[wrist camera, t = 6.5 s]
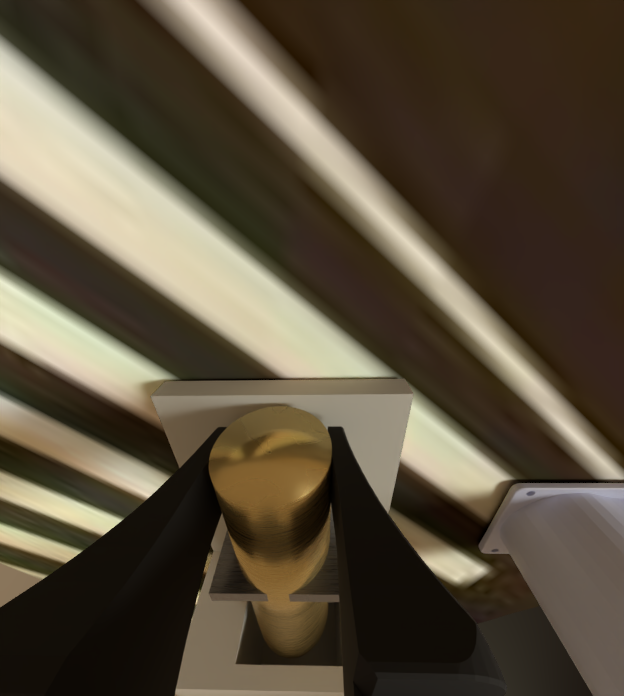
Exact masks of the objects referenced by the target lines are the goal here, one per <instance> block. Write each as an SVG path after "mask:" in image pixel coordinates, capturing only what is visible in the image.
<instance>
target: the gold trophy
mask: <svg viewBox="0 0 624 696" xmlns="http://www.w3.org/2000/svg"><path fill="white" fill-rule="evenodd" d="M331 467H332V444H331V438H330V435H329V433H328V431H327V429H326V427H325V426H324V425H323V423H322V422H321V421H320V420H319V419H317V418H316V417H315V416H313V415H312V414H310V413H308V412H306V411H304V410H301V409H298V408H293V407H286V406H276V407H267V408H263V409H259V410H256V411H253V412H251V413H248V414H246V415H244V416H242V417H240V418H239V419H237V420H236V421H234V422H233V423H232V424H230V425H229V426H228V427H227V428H226V429H225V430H224V431H223V432H222V433H221V435H220V436H219V437H218V439H217V440H216V442H215V444H214V446H213V448H212V451H211V454H210V458H209V474H210V478H211V481H212V484H213V487H214V490H215V493H216V496H217V499H218V502H219V505H220V508H221V511H222V514H223V517H224V520H225V524H226V527H227V532H226V535H225V539H224V542H223V546H222V549H221V553H220V556H219V559H218V563H217V566H216V570H215V573H214V576H213V580H212V583H211V587H210V590H209V595H210V597H211V599H212V601H251V603H252V606H253V609H254V612H255V615H256V618H257V621H258V624H259V627H260V630H261V633H262V636H263V638H264V640H265V642H266V643H267V645H268V646H269V648H270V649H271V650H272V651H273V652H274V653H276V654H277V655H279V656H281V657H284V658H290V659H291V658H298V657H301V656H303V655H305V654H306V653H308V652H309V651H310V650H311V649H312V648H313V647H314V646H315V645H316V644H317V642H318V641H319V639H320V638H321V636H322V634H323V631H324V629H325V626H326V622H327V617H328V607H329V602H339V582H338V564H337V548H336V538H335V530H334V522H333V514H332V507H331Z"/></svg>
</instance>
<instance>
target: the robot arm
mask: <svg viewBox="0 0 624 696" xmlns="http://www.w3.org/2000/svg"><path fill="white" fill-rule="evenodd" d="M226 428H227V427H218V428H217V429H216V430H215V431H214V432H213V433H212V434H211V435H210V436H209V437H208V438H207V439H206V441H205V442H204V443H203V444H202V445H201V446H200V447H199V448H198V449H197V450H196V451H195V453H194V454H193V455H192V456H191V457H190V458H189V459H188V460H187V461H186V462H185V463H184V464H183V465H182V466H181V467H180V468H179V469H178V470H177V471H176V472H175V473H174V474H173V475H172V476H171V477H170V478H169V479H168V480H167V481H166V482H165V483H164V484H163V485H162V486H161V487H160V488H159V489H158V490H157V491H156V492H155V493H154V494H152V495H151V496H150V497H149V498H148V499H147V500H146V501H145V502H144V503H142V504H141V505H140V506H139V507H138V508H137V509H136V510H134V511H133V512H132V513H131V514H130V515H129V516H127V517H126V518H125V519H124V520H122V521H121V522H120V523H119V524H117V525H116V526H115V527H114V528H112V529H111V530H110V531H109V532H107V533H106V534H105V535H103V536H102V537H101V538H100V539H98V540H97V541H96V542H95V543H93V544H92V545H91V546H89V547H88V548H86V549H85V550H84V551H82V552H81V553H80V554H78V555H77V556H76V557H74V558H73V559H71V560H70V561H69V562H67V563H66V564H64V565H63V566H61V567H60V568H59V569H57V570H56V571H54V572H53V573H52V574H50V575H49V576H47V577H46V578H44V579H43V580H41V581H40V582H39V583H37V584H35V585H34V586H32V587H31V588H29V589H28V590H26V591H25V592H23V593H22V594H20V595H19V596H17V597H15V598H14V599H12V600H11V601H9V602H8V603H6V604H5V605H4V606H2V607H0V696H175V691H176V686H177V681H178V677H179V672H180V667H181V663H182V658H183V653H184V649H185V645H186V640H187V636H188V632H189V627H190V623H191V619H192V615H193V610H194V606H195V603H196V599H197V595H198V591H199V587H200V583H201V579H202V575H203V571H204V568H205V564H206V560H207V556H208V553H209V549H210V546H211V543H212V540H213V537H214V534H215V531H216V528H217V526H218V523H219V520H220V517H221V514H222V511H221V508H220V505H219V502H218V499H217V496H216V493H215V490H214V487H213V484H212V481H211V478H210V474H209V458H210V454H211V451H212V448H213V446H214V444H215V442H216V440H217V439H218V437H219V436H220V435H221V433H222V432H223V431H224V430H225V429H226ZM328 433H329V435H330V438H331V444H332V467H331V507H332V514H333V522H334V530H335V538H336V548H337V564H338V582H339V602H340V621H341V642H342V663H343V684H344V696H504V695H505V694H506V690H507V686H506V683H505V680H504V678H503V675H502V673H501V670H500V668H499V666H498V663H497V661H496V659H495V657H494V655H493V653H492V651H491V650H490V647H489V645H488V643H487V641H486V640H485V637H484V636H483V634H482V632H481V630H480V628H479V627H478V625H477V623H476V621H475V620H474V619H473V618H472V617H471V616H470V615H469V613H468V612H467V611H466V610H465V609H464V608H463V607H462V606H461V605H460V603H459V602H458V601H457V600H456V599H455V598H454V597H453V595H452V594H451V593H450V592H449V591H448V590H447V589H446V587H445V586H444V585H443V584H442V583H441V582H440V580H439V579H438V578H437V577H436V576H435V574H434V573H433V572H432V571H431V570H430V568H429V567H428V566H427V565H426V564H425V562H424V561H423V560H422V559H421V557H420V556H419V555H418V553H417V552H416V551H415V550H414V548H413V547H412V546H411V544H410V543H409V542H408V540H407V539H406V538H405V537H404V535H403V534H402V533H401V531H400V530H399V529H398V527H397V526H396V524H395V523H394V521H393V520H392V519H391V517H390V516H389V514H388V513H387V511H386V510H385V508H384V507H383V505H382V504H381V502H380V501H379V499H378V497H377V496H376V494H375V493H374V491H373V489H372V488H371V486H370V484H369V482H368V481H367V479H366V477H365V475H364V473H363V472H362V470H361V468H360V466H359V464H358V462H357V460H356V458H355V456H354V454H353V452H352V449H351V447H350V445H349V442H348V440H347V437H346V434H345V431H344V428H343V427H341V426H328ZM479 548H480V550H481V552H483V553H486V554H510V555H511V557H512V559H513V560H514V562H515V564H516V565H517V567H518V569H519V570H520V572H521V574H522V576H523V577H524V579H525V581H526V582H527V584H528V586H529V587H530V589H531V591H532V592H533V594H534V596H535V598H536V599H537V601H538V603H539V604H540V606H541V608H542V609H543V611H544V613H545V614H546V616H547V618H548V620H549V621H550V623H551V625H552V626H553V628H554V630H555V631H556V633H557V635H558V636H559V638H560V640H561V642H562V643H563V645H564V646H565V648H566V650H567V652H568V653H569V655H570V657H571V659H572V660H573V662H574V664H575V665H576V667H577V669H578V670H579V672H580V674H581V675H582V677H583V678H584V681H585V682H586V684H587V686H588V687H589V689H590V691H591V692H592V694H593V696H624V483H517V484H514V485H513V486H512V487H511V488H510V490H509V491H508V493H507V495H506V497H505V499H504V500H503V502H502V504H501V506H500V508H499V509H498V511H497V513H496V515H495V517H494V518H493V520H492V522H491V524H490V526H489V527H488V529H487V531H486V533H485V535H484V536H483V538H482V540H481V542H480V544H479Z"/></svg>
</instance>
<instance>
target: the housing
mask: <svg viewBox="0 0 624 696" xmlns="http://www.w3.org/2000/svg"><path fill="white" fill-rule="evenodd" d="M151 399H152V401H153V404H154V406H155V409H156V411H157V414H158V416H159V419H160V421H161V423H162V426H163V428H164V431H165V433H166V436H167V438H168V441H169V443H170V446H171V448H172V451H173V453H174V455H175V458H176V460H177V463H178V465H179V468H180V467H181V466H182V465H183V464H184V463H185V462H186V461H187V460H188V459H189V458H190V457H191V456H192V455H193V454H194V453H195V451H196V450H197V449H198V448H199V447H200V446H201V445H202V444H203V443H204V442H205V441H206V439H207V438H208V437H209V436H210V435H211V434H212V433H213V432H214V431H215V430H216V429H217V428H218V427H228V426H229V425H230V424H232V423H233V422H234V421H236V420H237V419H239V418H240V417H242V416H244V415H246V414H248V413H251V412H253V411H256V410H259V409H263V408H267V407H276V406H286V407H293V408H298V409H301V410H304V411H306V412H308V413H310V414H312V415H313V416H315V417H316V418H317V419H319V420H320V421H321V422H322V423H323V425H324V426H325V427H326V429H327V431H328V426H341V427H343V428H344V431H345V434H346V437H347V440H348V442H349V445H350V447H351V449H352V452H353V454H354V456H355V458H356V460H357V462H358V464H359V466H360V468H361V470H362V472H363V473H364V475H365V477H366V479H367V481H368V482H369V484H370V486H371V488H372V489H373V491H374V493H375V494H376V496H377V497H378V499H379V501H380V502H381V504H382V505H383V507H384V508H385V510H386V511H387V513H388V514H389V509H390V504H391V500H392V495H393V490H394V485H395V480H396V476H397V471H398V466H399V461H400V457H401V452H402V447H403V442H404V437H405V433H406V428H407V423H408V418H409V414H410V409H411V404H412V399H413V392H412V390H411V389H410V387H409V385H408V383H407V382H406V380H405V379H336V380H235V381H165V382H164V383H163V384H162V385H161V386H160V387H159V388H158V389H157V390H156V391H155V392H154V393H153V394H152V395H151ZM226 532H227V527H226V524H225V520H224V517H223V514H221V517H220V520H219V523H218V526H217V528H216V531H215V534H214V537H213V540H212V543H211V546H212V549H213V554H212V558H211V561H210V564H209V567H208V570H207V573H206V577H205V580H204V583H203V586H202V589H201V592H200V596H199V599H198V602H197V605H196V608H195V611H194V615H193V618H192V621H191V624H190V627H189V632H188V636H187V640H186V645H185V649H184V653H183V658H182V663H181V667H180V672H179V677H178V681H177V686H176V691H175V694H177V695H178V696H344V684H343V663H342V642H341V621H340V602H329V607H328V617H327V622H326V626H325V629H324V631H323V634H322V636H321V638H320V639H319V641H318V642H317V644H316V645H315V646H314V647H313V648H312V649H311V650H310V651H309V652H308V653H306V654H305V655H303V656H301V657H298V658H291V659H290V658H284V657H281V656H279V655H277V654H276V653H274V652H273V651H272V650H271V649H270V648H269V646H268V645H267V643H266V642H265V640H264V638H263V636H262V633H261V630H260V627H259V624H258V621H257V618H256V615H255V612H254V609H253V606H252V603H251V601H212V599H211V597H210V595H209V590H210V587H211V583H212V580H213V576H214V573H215V570H216V566H217V563H218V559H219V556H220V553H221V549H222V546H223V542H224V539H225V535H226Z"/></svg>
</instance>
